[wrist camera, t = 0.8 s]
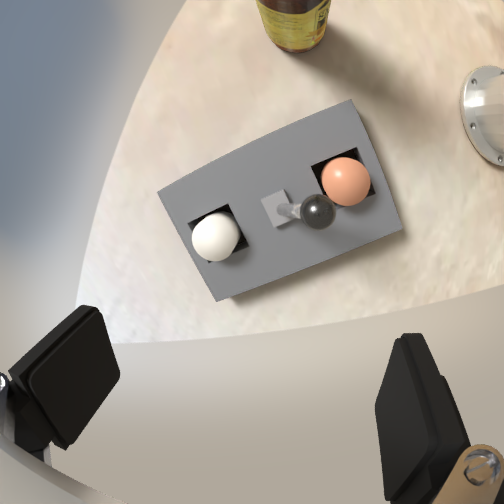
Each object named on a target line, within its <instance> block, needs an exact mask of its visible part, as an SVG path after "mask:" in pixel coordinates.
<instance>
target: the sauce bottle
mask: <svg viewBox="0 0 504 504" xmlns="http://www.w3.org/2000/svg"><path fill="white" fill-rule="evenodd" d="M256 2H257V6H258V8H259V11H260V15H261V18H262V21H263V24H264V27H265V30H266V32H267V34H268V36H269V37H270V39H271V40H272V42H273V43H274V44H276V46H278V47H279V48H280V49H282V50H285V51H289V52H294V53H295V52H299V53H300V52H306V51H308V50H310V49H312V48H314V47H315V46H317V45H318V43H319V42H320V40H321V38H322V37H323V35H324V33H325V29H326V24H327V18H328V13H329V8H330V3H331V0H256Z"/></svg>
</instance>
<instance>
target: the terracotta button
mask: <svg viewBox="0 0 504 504" xmlns="http://www.w3.org/2000/svg"><path fill="white" fill-rule="evenodd" d="M321 183H322V186H323V188H324V190H325V192H326V193H327V195H328V196H329V198H330V199H331V200H332V201H334V202H335V203H337V204H339V205H343V206H351V205H355V204H357V203H359V202H361V201H362V200H363V199H364V198H365V197H366V195H367V194H368V192H369V189H370V176H369V173H368V171H367V169H366V168H365V167H364V166H363V165H362V164H361V163H360V162H358V161H356V160H354V159H351V158H347V157H336V158H333V159H331V160H329V161H328V162H327V163H326V164H325V165H324V167H323V169H322V172H321Z"/></svg>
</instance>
